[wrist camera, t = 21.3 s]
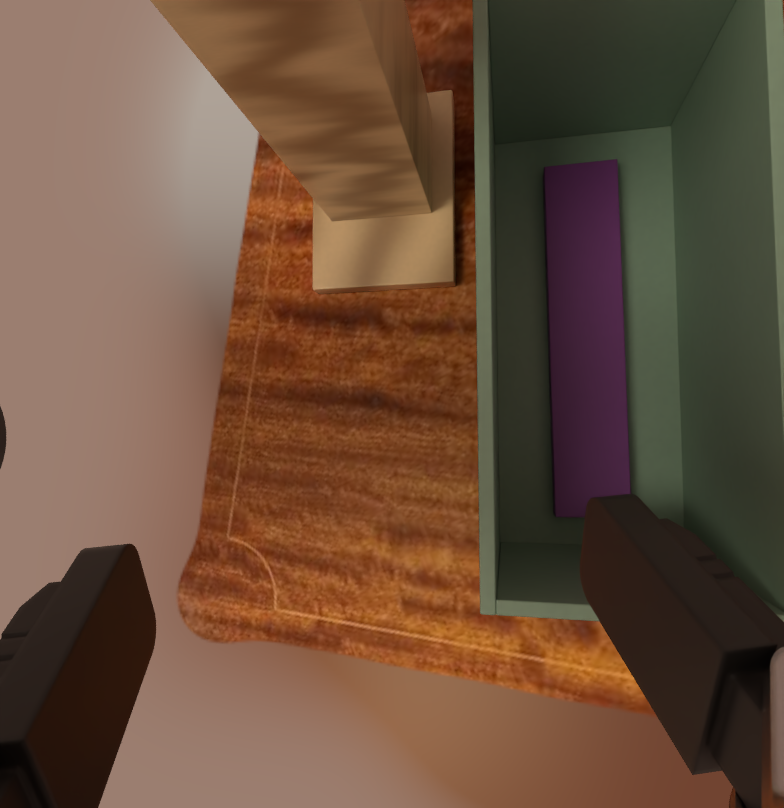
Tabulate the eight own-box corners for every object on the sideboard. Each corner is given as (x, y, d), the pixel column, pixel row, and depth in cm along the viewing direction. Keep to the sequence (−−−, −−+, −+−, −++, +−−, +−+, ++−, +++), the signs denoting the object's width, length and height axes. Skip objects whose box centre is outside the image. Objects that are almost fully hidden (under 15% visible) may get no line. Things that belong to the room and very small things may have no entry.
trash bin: (490, 549, 34) (480, 614, 22) (485, 141, 35) (472, -17, 23) (693, 556, 32) (811, 634, 19) (678, 120, 33) (779, -67, 21)
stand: (318, 294, 37) (-737, -491, 6) (319, 117, 38) (-616, -1457, 6) (456, 286, 35) (27, -934, 4) (454, 100, 36) (77, -2222, 5)
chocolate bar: (626, 514, 32) (632, 518, 30) (553, 513, 33) (555, 517, 31) (612, 169, 33) (617, 158, 32) (542, 177, 34) (543, 166, 32)
